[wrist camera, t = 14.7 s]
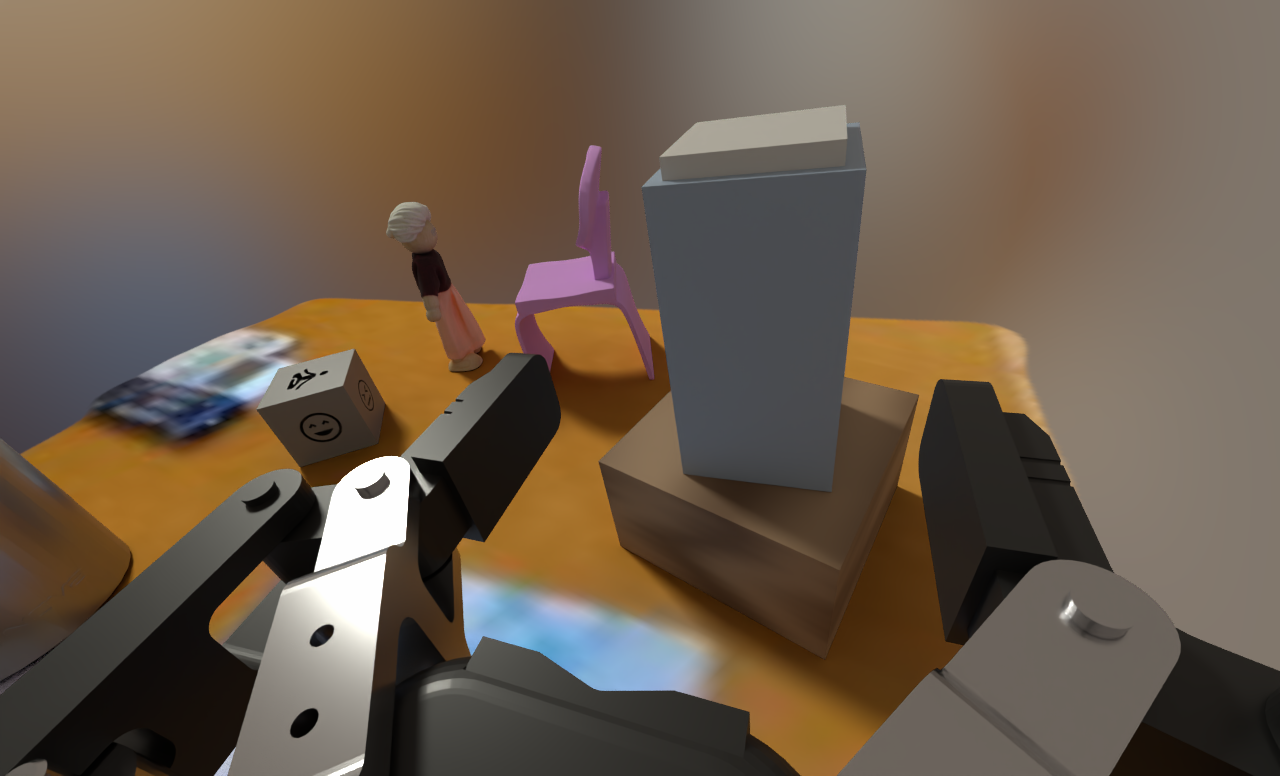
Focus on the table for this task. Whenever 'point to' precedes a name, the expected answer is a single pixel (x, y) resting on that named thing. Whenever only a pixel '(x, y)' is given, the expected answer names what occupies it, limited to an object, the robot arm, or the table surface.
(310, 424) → the dice cube
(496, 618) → the table surface
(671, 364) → the slate-blue canister
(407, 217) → the grandmother figurine
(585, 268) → the toy chair
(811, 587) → the walnut block
